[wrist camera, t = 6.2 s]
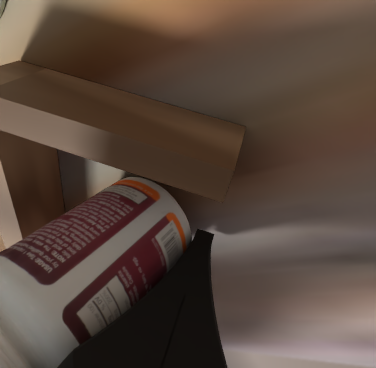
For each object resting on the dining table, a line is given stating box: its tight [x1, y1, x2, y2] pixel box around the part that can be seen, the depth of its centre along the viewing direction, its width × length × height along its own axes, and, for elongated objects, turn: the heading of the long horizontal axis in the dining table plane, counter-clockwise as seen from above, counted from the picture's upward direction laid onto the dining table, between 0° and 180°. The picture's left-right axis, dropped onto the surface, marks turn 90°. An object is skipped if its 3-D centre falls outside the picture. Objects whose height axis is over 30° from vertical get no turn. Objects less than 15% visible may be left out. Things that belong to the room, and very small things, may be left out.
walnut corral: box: [0, 60, 246, 249], centre depth 13 cm, size 11×9×3 cm
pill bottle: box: [0, 177, 192, 368], centre depth 10 cm, size 5×5×8 cm
